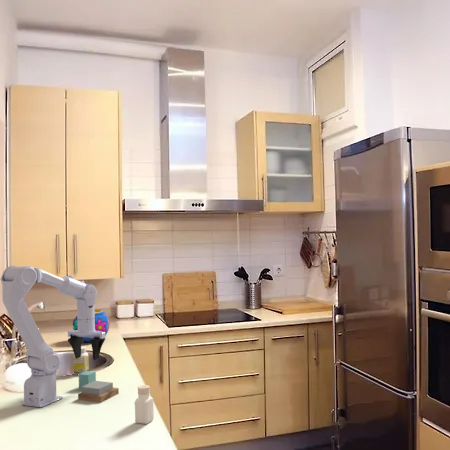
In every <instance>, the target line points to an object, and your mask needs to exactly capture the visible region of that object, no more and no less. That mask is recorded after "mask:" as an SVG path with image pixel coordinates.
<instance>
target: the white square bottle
mask: <svg viewBox="0 0 450 450" xmlns="http://www.w3.org/2000/svg"><path fill="white" fill-rule="evenodd" d="M150 387H151V386H150V385H148V384H142V385H139V386H138V387H137V394H138V395H137V396H138V397H137V398H136V399H135V401H134V418H135V419H134V422H135V424H143V425H147V423H148V424H149V423H151V422H152V421H153V420H154V417H155V416H154V398H153V397H151V396H150V393H151V388H150Z"/></svg>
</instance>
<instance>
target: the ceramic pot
mask: <svg viewBox="0 0 450 450" xmlns="http://www.w3.org/2000/svg"><path fill="white" fill-rule="evenodd" d="M94 314H95V330H96V331H101V332H105V336H106V337H107V334H108V333H109V330H110V319H109V316H108V314H107V313H106V312H105V311H104V310H102V309H94ZM72 326H73V327H72V330H78V323H77V315H76V316H75V318H74V319H73V320H72ZM88 336H90V335H88ZM91 339H94V338H90V337H83V339H82V342H86V343H91V342H90V340H91Z"/></svg>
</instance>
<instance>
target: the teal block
mask: <svg viewBox="0 0 450 450" xmlns="http://www.w3.org/2000/svg"><path fill="white" fill-rule="evenodd" d="M96 376H97V374H96V371H91V370H90V371H85V372H83V373H80V374H79V375H78V389H80V390H81V387H82V386H84V385H87V384H89V383H91V382H94V381H97V377H96Z"/></svg>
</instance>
